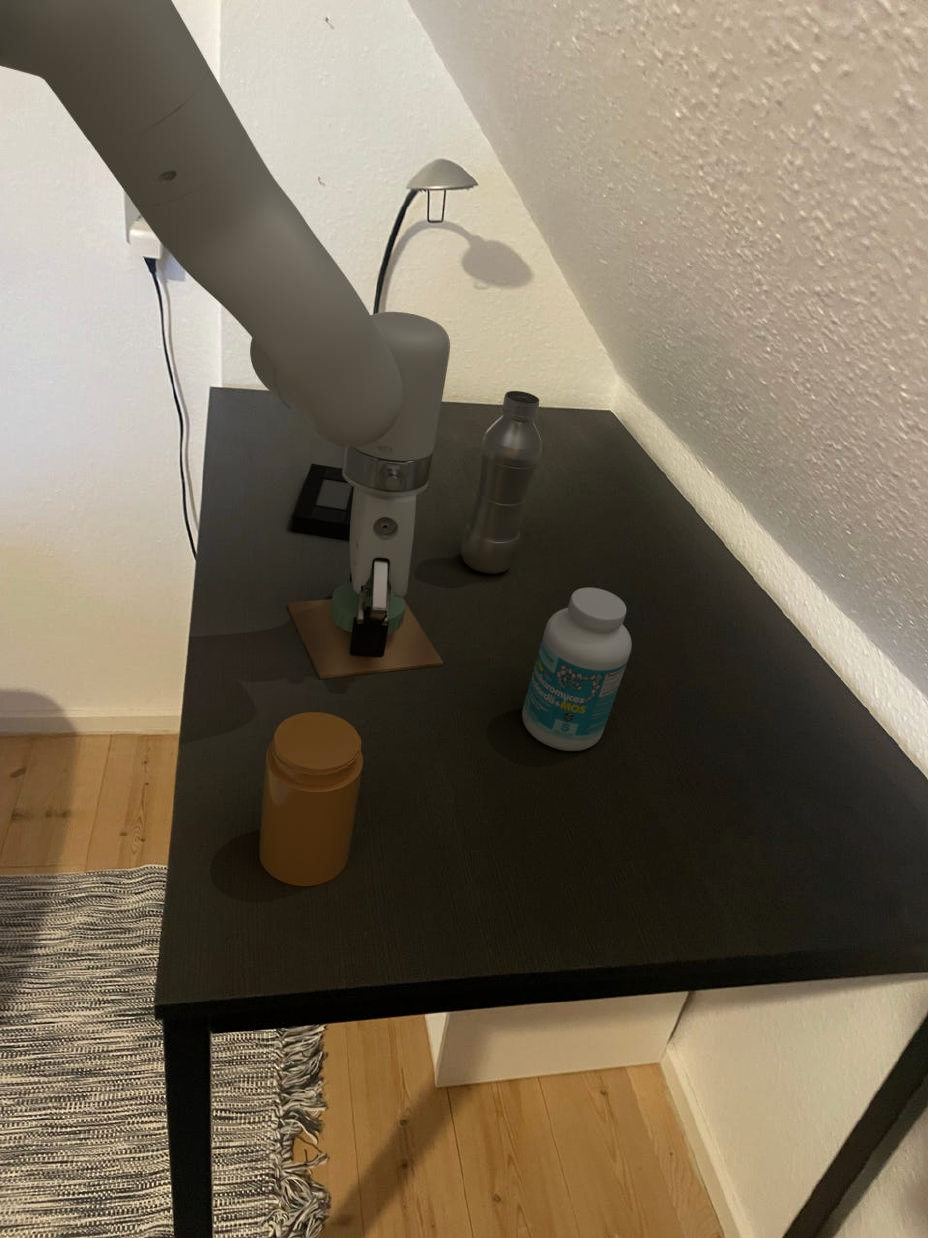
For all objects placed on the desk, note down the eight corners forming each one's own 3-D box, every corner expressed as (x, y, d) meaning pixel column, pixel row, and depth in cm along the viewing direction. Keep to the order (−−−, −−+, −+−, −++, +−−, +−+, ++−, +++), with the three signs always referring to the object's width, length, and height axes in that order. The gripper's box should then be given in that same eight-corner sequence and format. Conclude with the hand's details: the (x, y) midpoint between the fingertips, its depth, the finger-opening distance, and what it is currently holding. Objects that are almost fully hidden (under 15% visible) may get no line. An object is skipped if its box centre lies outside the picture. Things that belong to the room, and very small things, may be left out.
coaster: (319, 679, 84) (320, 675, 84) (286, 605, 93) (286, 602, 93) (442, 665, 89) (443, 662, 89) (400, 597, 98) (400, 593, 98)
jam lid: (405, 603, 93) (408, 587, 92) (399, 643, 87) (402, 626, 86) (335, 591, 93) (337, 574, 92) (324, 629, 87) (326, 612, 86)
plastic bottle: (445, 561, 106) (477, 391, 95) (482, 545, 111) (517, 381, 100) (489, 587, 103) (527, 414, 92) (525, 569, 108) (566, 403, 97)
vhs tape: (370, 487, 118) (371, 473, 117) (358, 542, 106) (360, 526, 105) (310, 478, 118) (311, 463, 117) (291, 531, 106) (292, 515, 105)
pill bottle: (503, 721, 84) (536, 593, 77) (553, 691, 89) (588, 569, 82) (569, 767, 80) (610, 638, 73) (617, 733, 85) (659, 609, 78)
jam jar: (260, 889, 64) (270, 774, 58) (256, 820, 69) (264, 708, 64) (354, 883, 66) (372, 771, 60) (343, 817, 71) (359, 707, 65)
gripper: (442, 513, 75) (410, 689, 85) (420, 427, 89) (395, 586, 99) (347, 505, 74) (326, 685, 83) (340, 418, 88) (323, 581, 97)
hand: (364, 630), depth 91 cm, fingers closed on jam lid, 6 cm apart
